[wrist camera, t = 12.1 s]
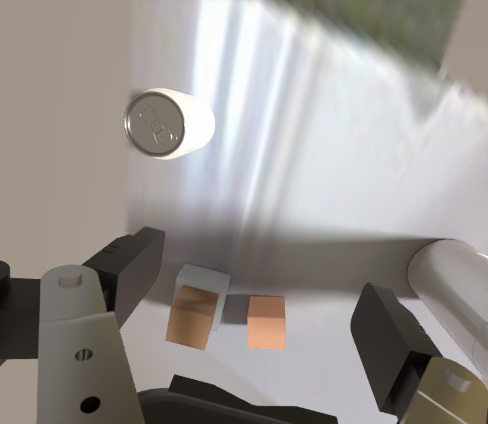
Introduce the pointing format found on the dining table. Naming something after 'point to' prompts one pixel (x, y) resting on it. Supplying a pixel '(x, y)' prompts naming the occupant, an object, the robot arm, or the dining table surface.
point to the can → (168, 123)
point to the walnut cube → (192, 317)
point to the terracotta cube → (266, 322)
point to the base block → (204, 286)
